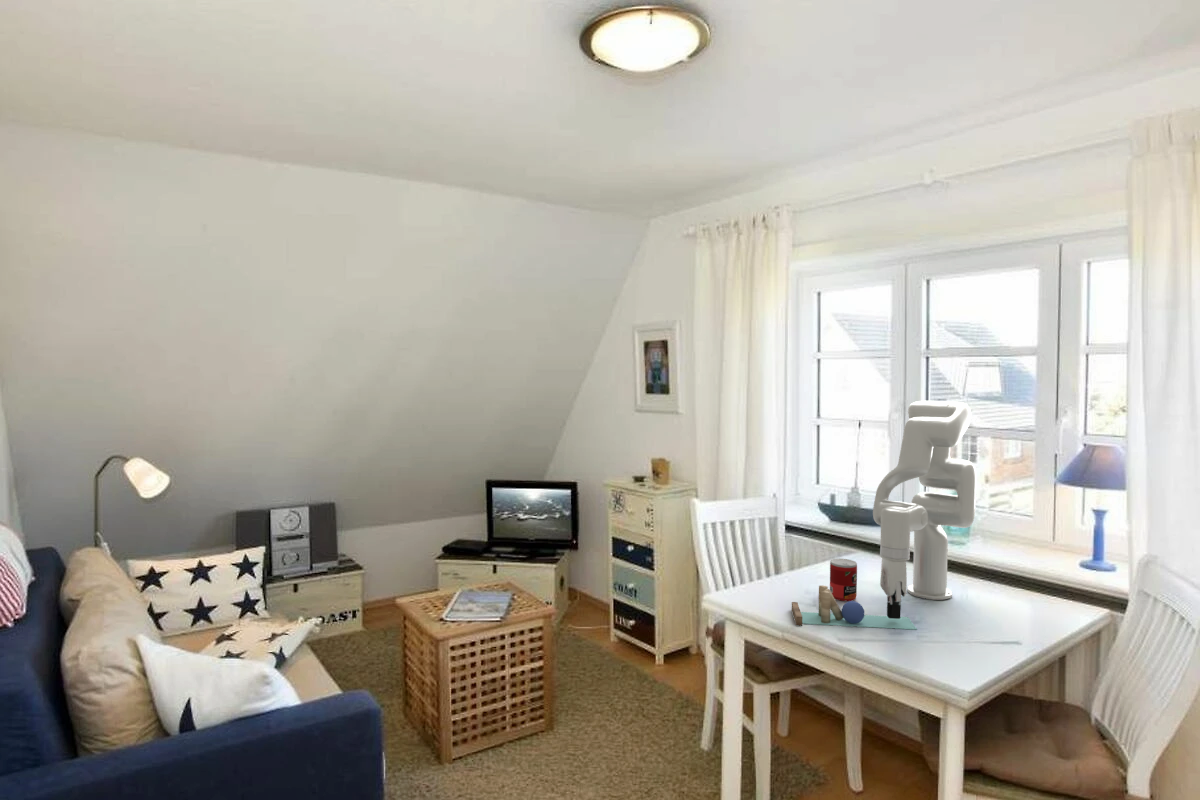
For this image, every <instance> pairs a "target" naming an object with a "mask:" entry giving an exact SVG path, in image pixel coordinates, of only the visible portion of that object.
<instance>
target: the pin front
mask: <svg viewBox="0 0 1200 800" xmlns="http://www.w3.org/2000/svg"><path fill="white" fill-rule="evenodd" d="M824 591H828V592H830V593H831V591H830V588H828V589H826V590H824ZM838 604H839V603H837V600H836V599H834V597H833V595H832V593H831V600H830V612H832V613H833V615H834V617H835V618H836V620H841V619H843V616H842V609H841V607H840V606H839V605H838Z"/></svg>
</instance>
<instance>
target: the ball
mask: <svg viewBox="0 0 1200 800" xmlns="http://www.w3.org/2000/svg"><path fill="white" fill-rule="evenodd" d="M841 611H842V616H843V618H844V619H845V620H846V621H847V622H849V623H853V624H855V623H859V622H860V621H862V619H863V618H864V615H865V609H864V607H863V605H862V604H861V603H859V602H858V601H856V600H853V601H845V603H844V604H843V605H842V606H841Z"/></svg>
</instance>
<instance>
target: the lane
mask: <svg viewBox="0 0 1200 800" xmlns="http://www.w3.org/2000/svg"><path fill="white" fill-rule="evenodd" d="M801 614H802V625H814V624H816V625H817V624H818V625H817V626H833V625H837V626H838V625H840V626H838V627H853V626H857V627H856V628H872V627H873V628H875V629H877V628H879V629H892V628H895V629H894V630H896V629H897V630H911V631H912V630H915V631H917V630H918V628H917V627H916V626H915V624H914V623H913V622H912V621H911V619H910V617H909V616H900V619H893V618H888V616H887V615H876V614H875V615H871V614H864V618H863V619H862V621H860V622H859V623H855V624H853V623H849V622H847V621H846V620H845V619H844V618H843V619H841V620H836V618H835V617H834V615H833V613H831V612H830V623H822V622H821V616H819V612H812V611H811V612H810V611H801Z"/></svg>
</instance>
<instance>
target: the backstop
mask: <svg viewBox="0 0 1200 800" xmlns="http://www.w3.org/2000/svg"><path fill="white" fill-rule="evenodd" d="M801 612H802V611H801V609H800V606H799V603H798V602H797V601H792V602H791V613H792V617H793V616H794V617H793V619H795V620H794V623H795V625H799V627H801V626H802V627H803V624H802V614H801ZM800 625H801V626H800Z"/></svg>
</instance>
